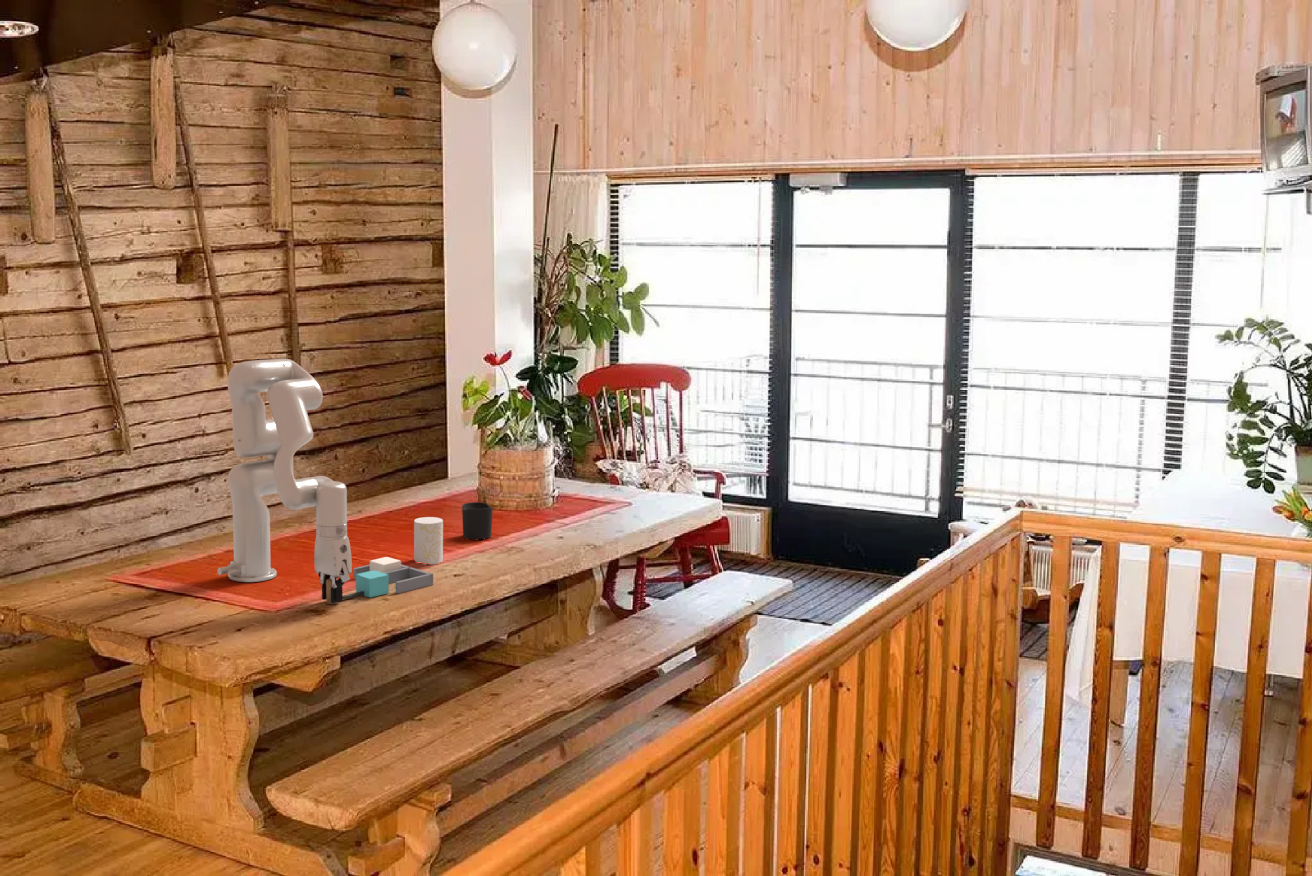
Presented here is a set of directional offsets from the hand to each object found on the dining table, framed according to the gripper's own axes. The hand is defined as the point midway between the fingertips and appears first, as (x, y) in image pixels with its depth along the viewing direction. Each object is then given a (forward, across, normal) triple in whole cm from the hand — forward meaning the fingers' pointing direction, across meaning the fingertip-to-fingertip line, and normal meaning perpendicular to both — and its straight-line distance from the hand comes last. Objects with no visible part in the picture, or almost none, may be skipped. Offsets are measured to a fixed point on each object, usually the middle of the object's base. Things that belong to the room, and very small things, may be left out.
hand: (332, 599), depth 333 cm
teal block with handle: (+1, 0, -7) cm, 7 cm away
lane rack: (+1, +4, -23) cm, 24 cm away
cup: (+1, +14, -44) cm, 47 cm away
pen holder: (+1, +25, -73) cm, 77 cm away
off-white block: (+1, +9, -24) cm, 26 cm away
